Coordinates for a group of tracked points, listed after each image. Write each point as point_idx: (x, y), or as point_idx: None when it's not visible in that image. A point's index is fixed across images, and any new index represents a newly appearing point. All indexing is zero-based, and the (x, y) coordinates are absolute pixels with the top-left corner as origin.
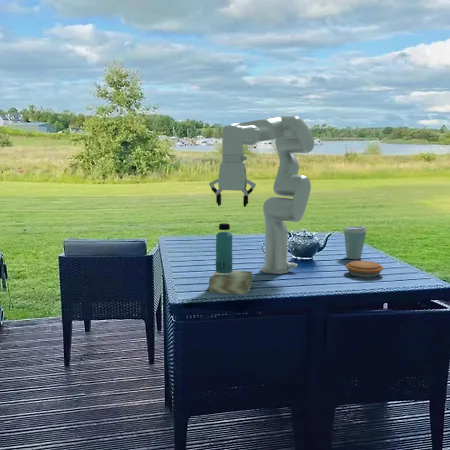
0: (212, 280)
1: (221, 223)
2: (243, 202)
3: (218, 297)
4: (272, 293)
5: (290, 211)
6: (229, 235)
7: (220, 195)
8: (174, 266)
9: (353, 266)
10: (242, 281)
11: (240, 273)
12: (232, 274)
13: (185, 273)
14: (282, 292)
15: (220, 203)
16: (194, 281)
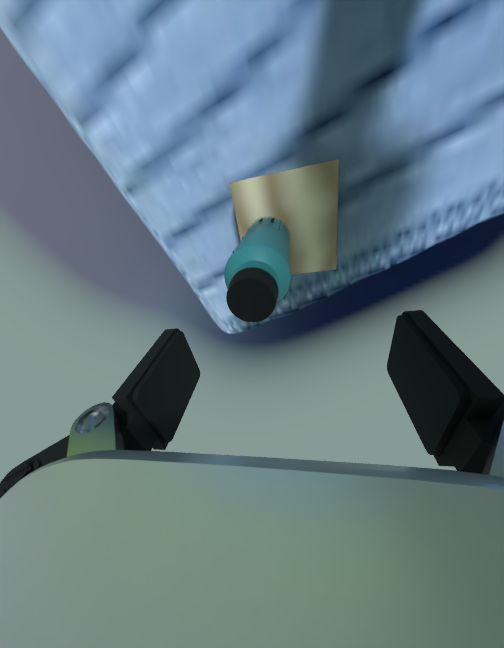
0: None
1: (232, 294)
2: (400, 395)
3: None
4: (392, 230)
5: None
6: (283, 293)
7: (155, 419)
8: (19, 22)
9: None
10: (325, 270)
11: (306, 198)
12: (287, 219)
13: (116, 118)
14: (421, 211)
15: (187, 361)
16: (185, 198)
